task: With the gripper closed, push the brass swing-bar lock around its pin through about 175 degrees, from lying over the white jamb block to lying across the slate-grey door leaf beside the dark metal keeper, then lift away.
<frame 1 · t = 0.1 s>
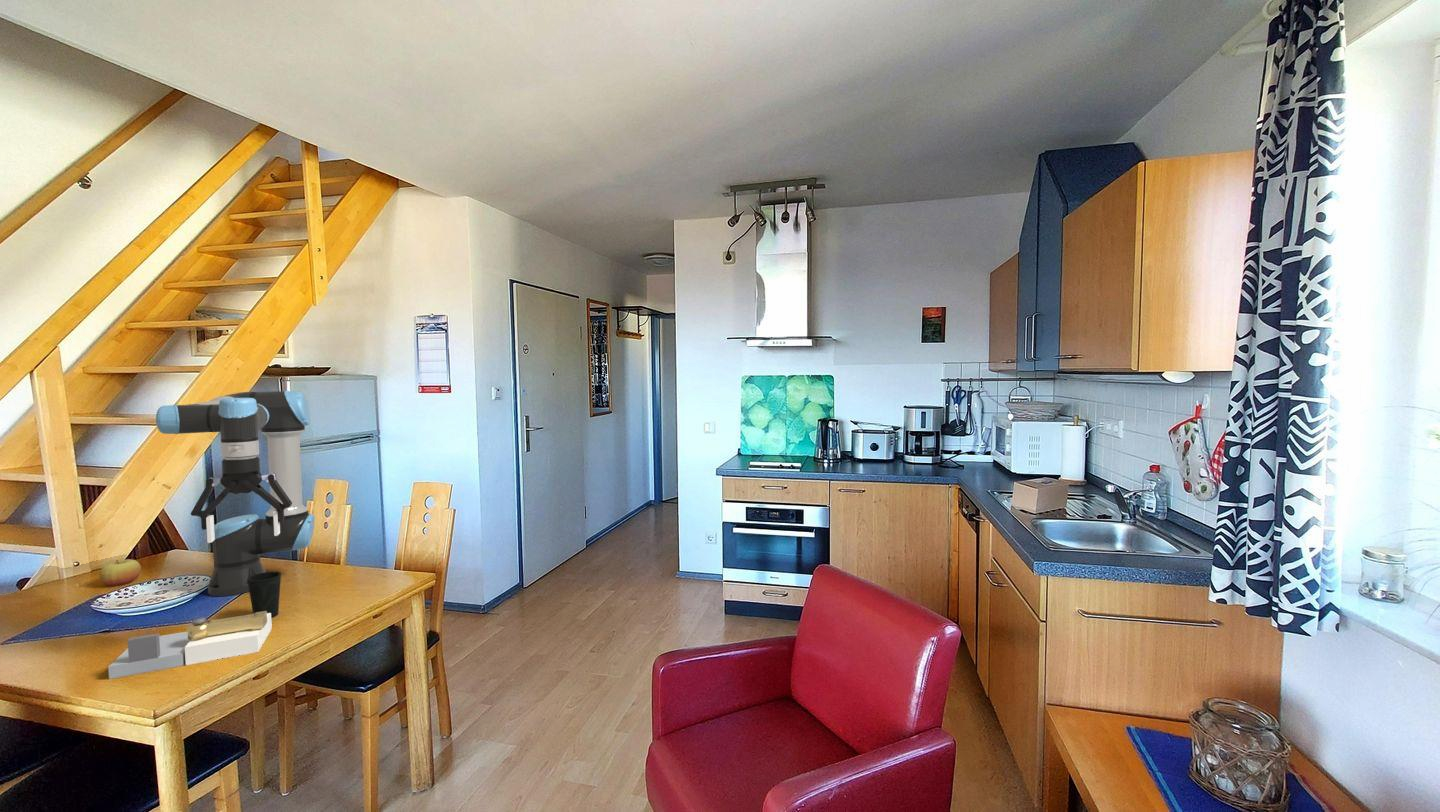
hand: (244, 538, 149), 28 cm above the table, fingers open, 13 cm apart
cup: (266, 616, 166), on the table
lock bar: (227, 625, 146), point 6 cm above the table, hinge at 0.0°
apple: (121, 583, 192), on the table
doorframe: (200, 654, 144), on the table
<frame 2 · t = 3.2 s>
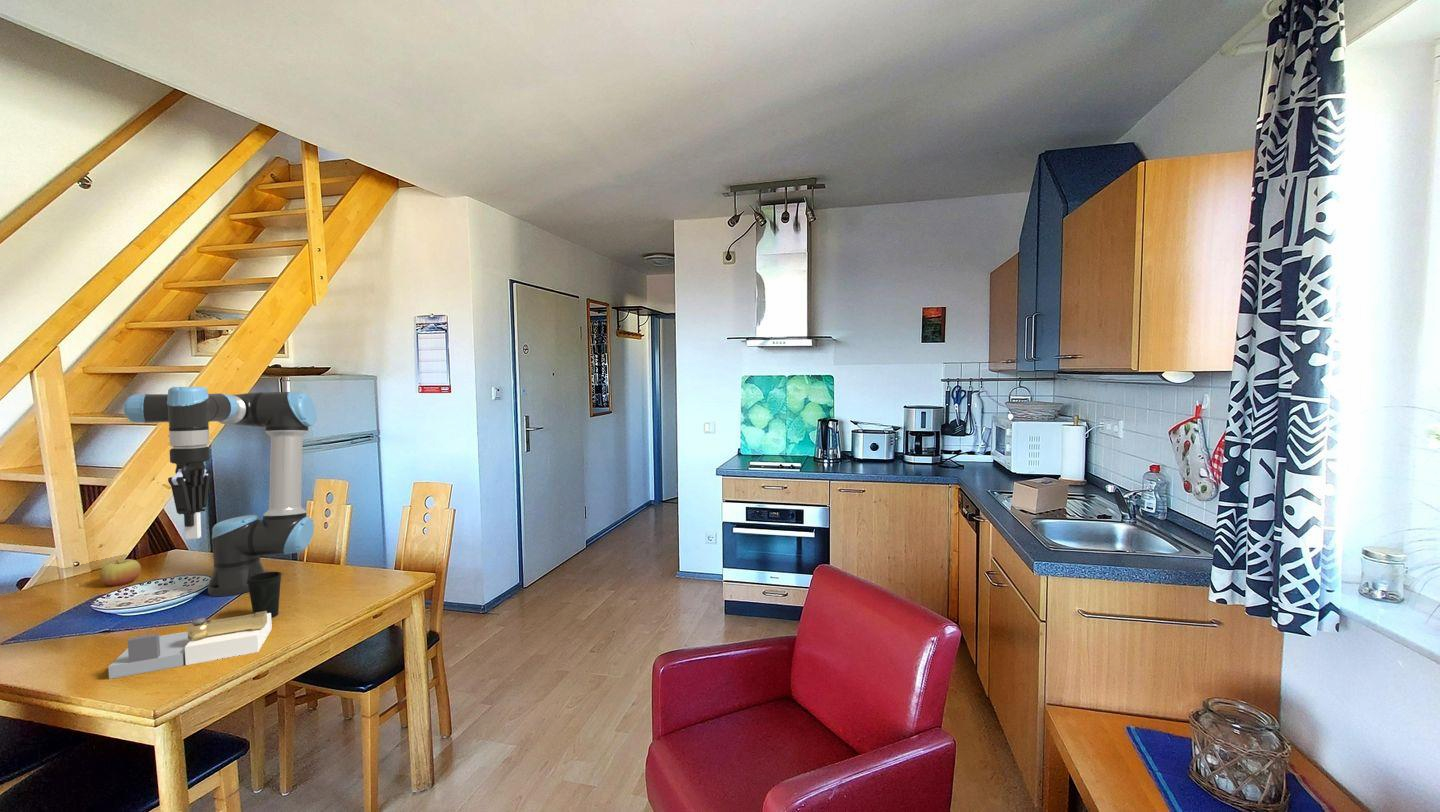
hand: (193, 538, 146), 29 cm above the table, fingers closed
nothing on the table moved.
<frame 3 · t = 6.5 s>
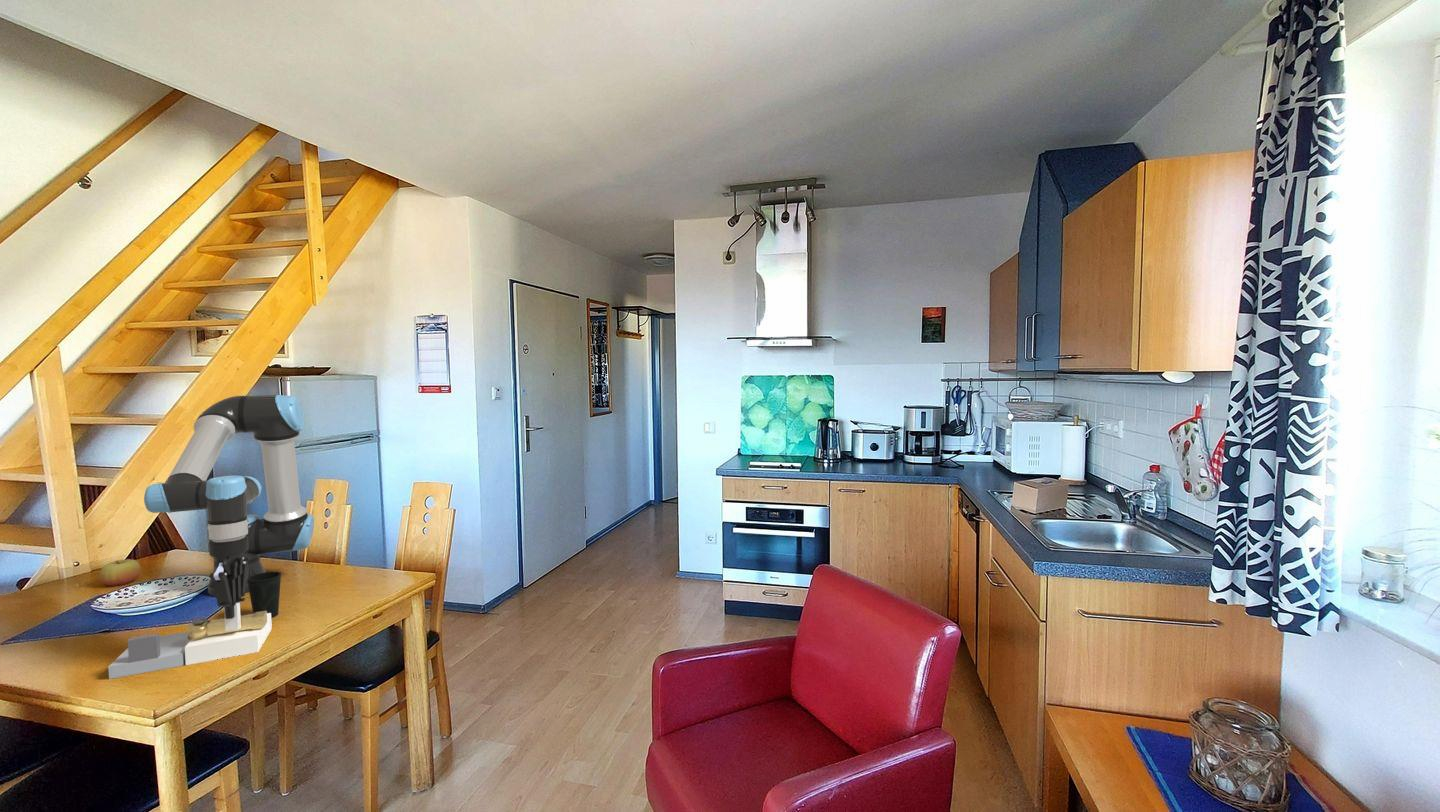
hand: (233, 629, 145), 6 cm above the table, fingers closed
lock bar: (227, 625, 146), point 6 cm above the table, hinge at 0.7°, touching gripper
everything else where it was.
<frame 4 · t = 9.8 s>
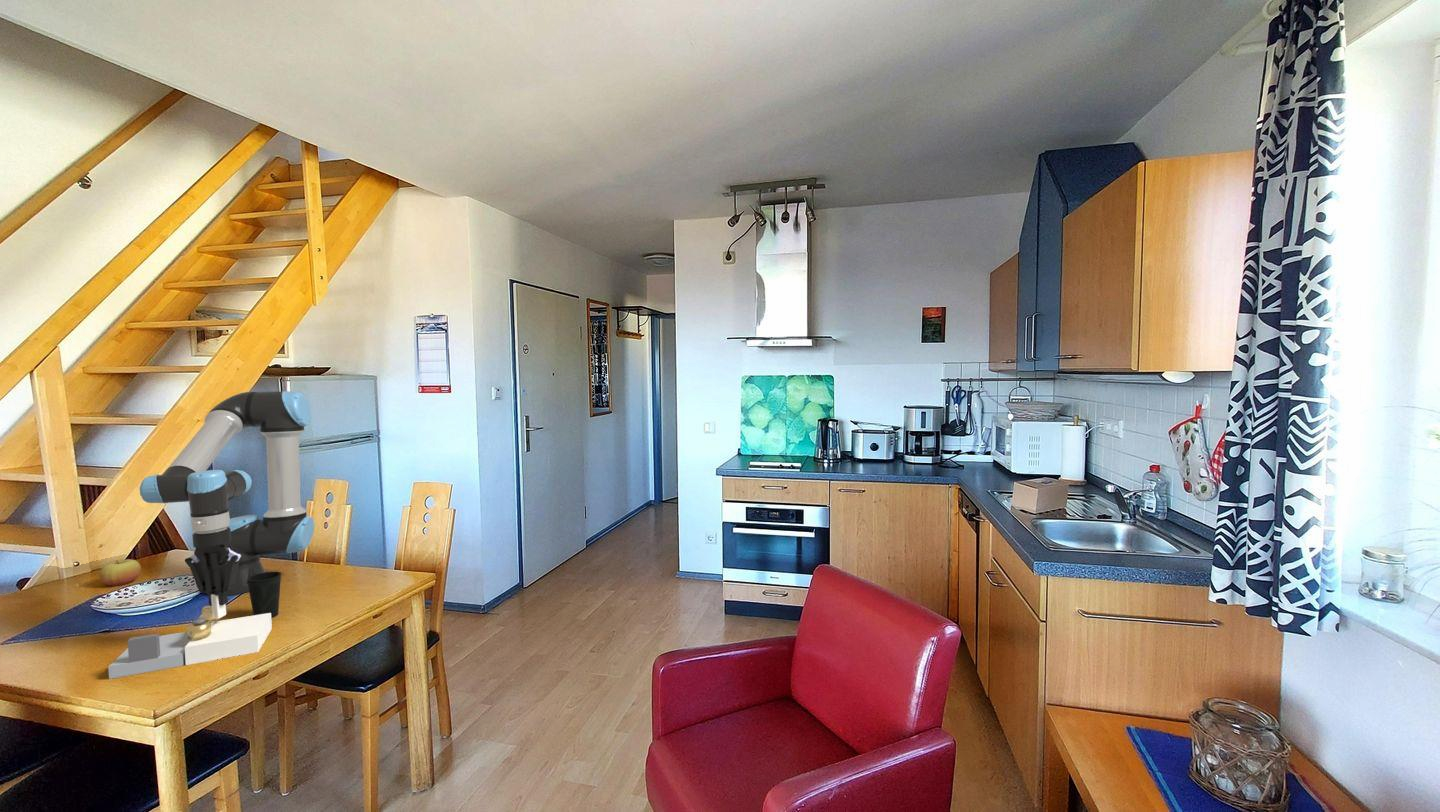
hand: (219, 616, 151), 6 cm above the table, fingers closed
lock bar: (205, 621, 148), point 6 cm above the table, hinge at 91.8°, touching gripper
everything else where it was.
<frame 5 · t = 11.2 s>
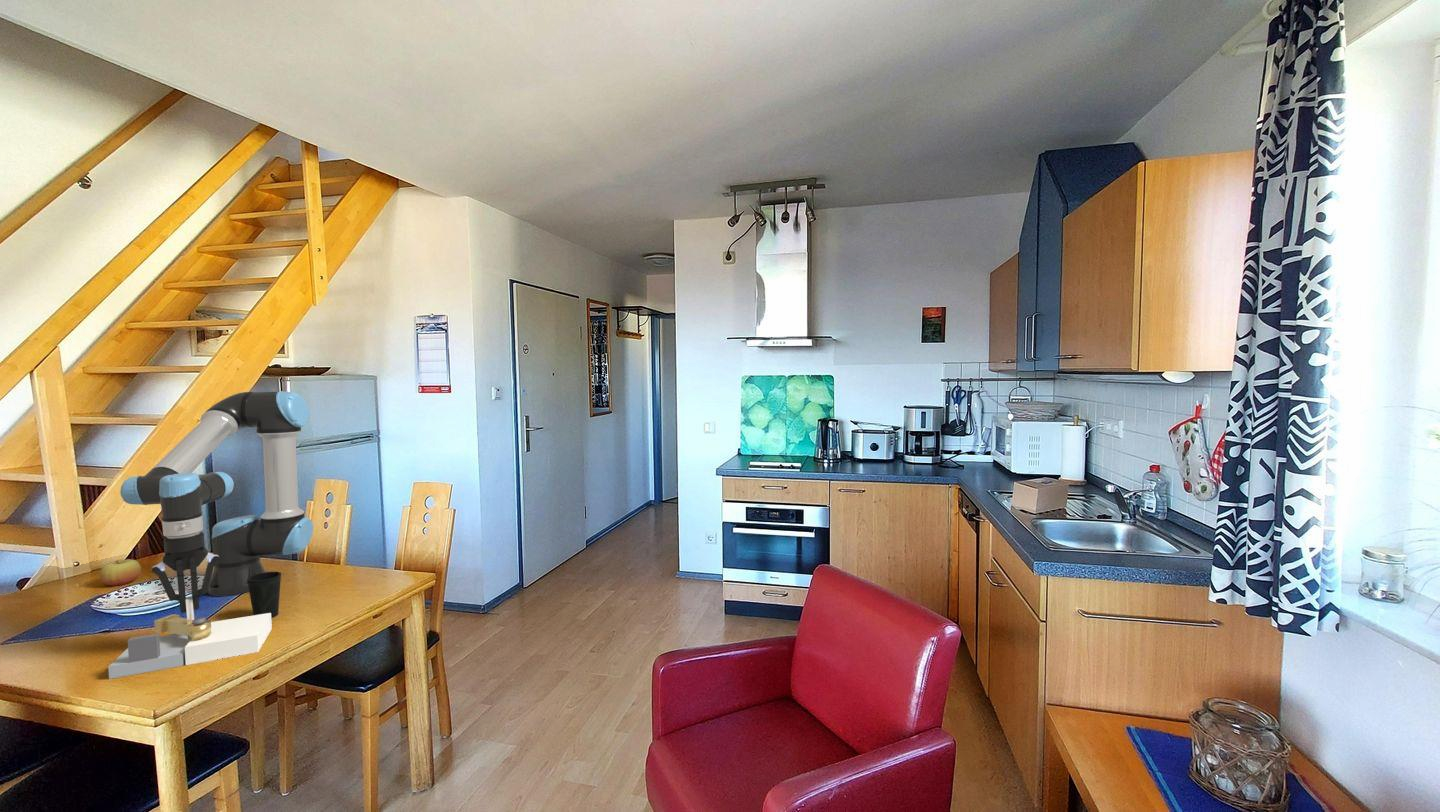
hand: (191, 622, 148), 6 cm above the table, fingers closed
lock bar: (184, 626, 145), point 6 cm above the table, hinge at 135.4°, touching gripper
everything else where it was.
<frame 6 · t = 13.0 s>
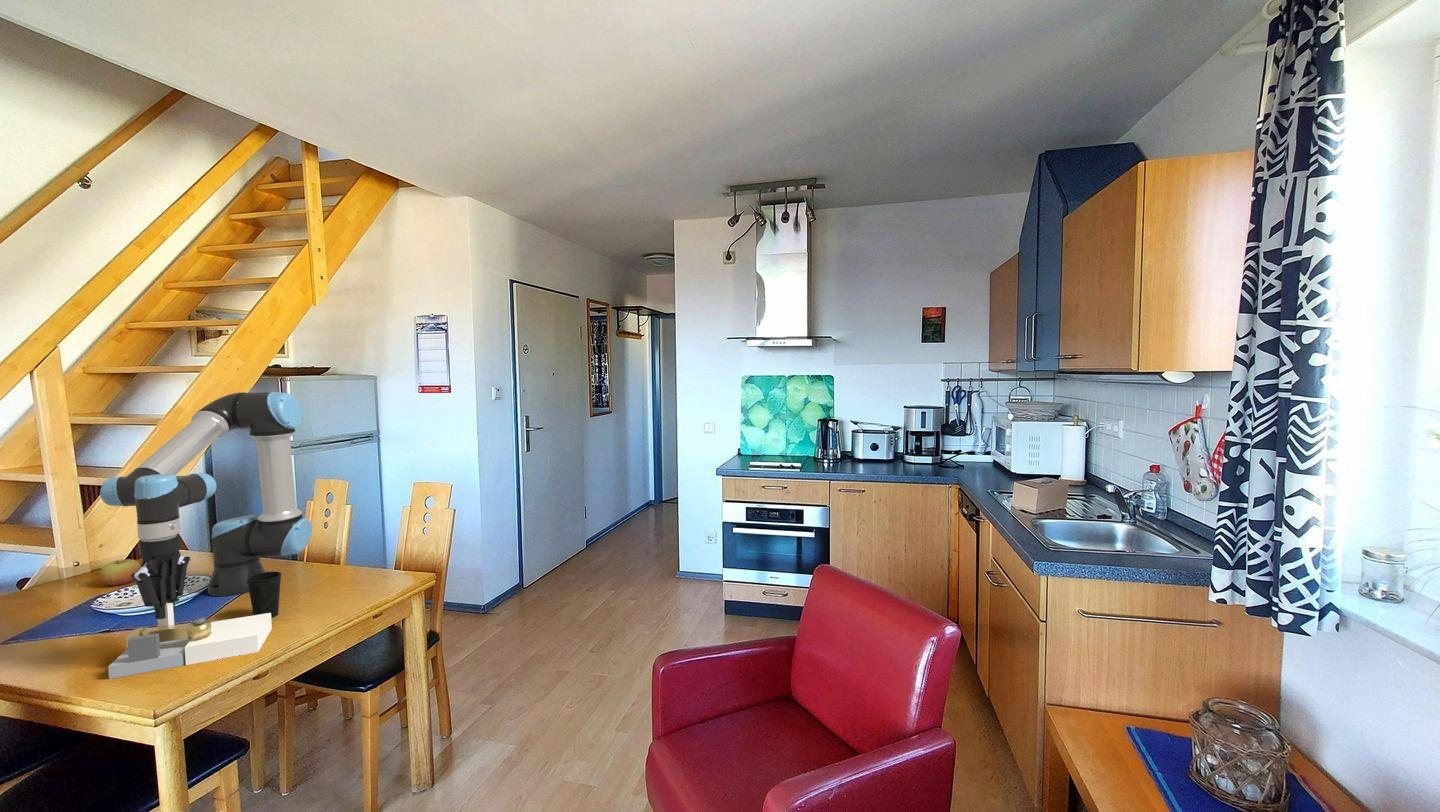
hand: (166, 629, 143), 7 cm above the table, fingers closed
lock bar: (171, 633, 141), point 6 cm above the table, hinge at 172.3°
everything else where it was.
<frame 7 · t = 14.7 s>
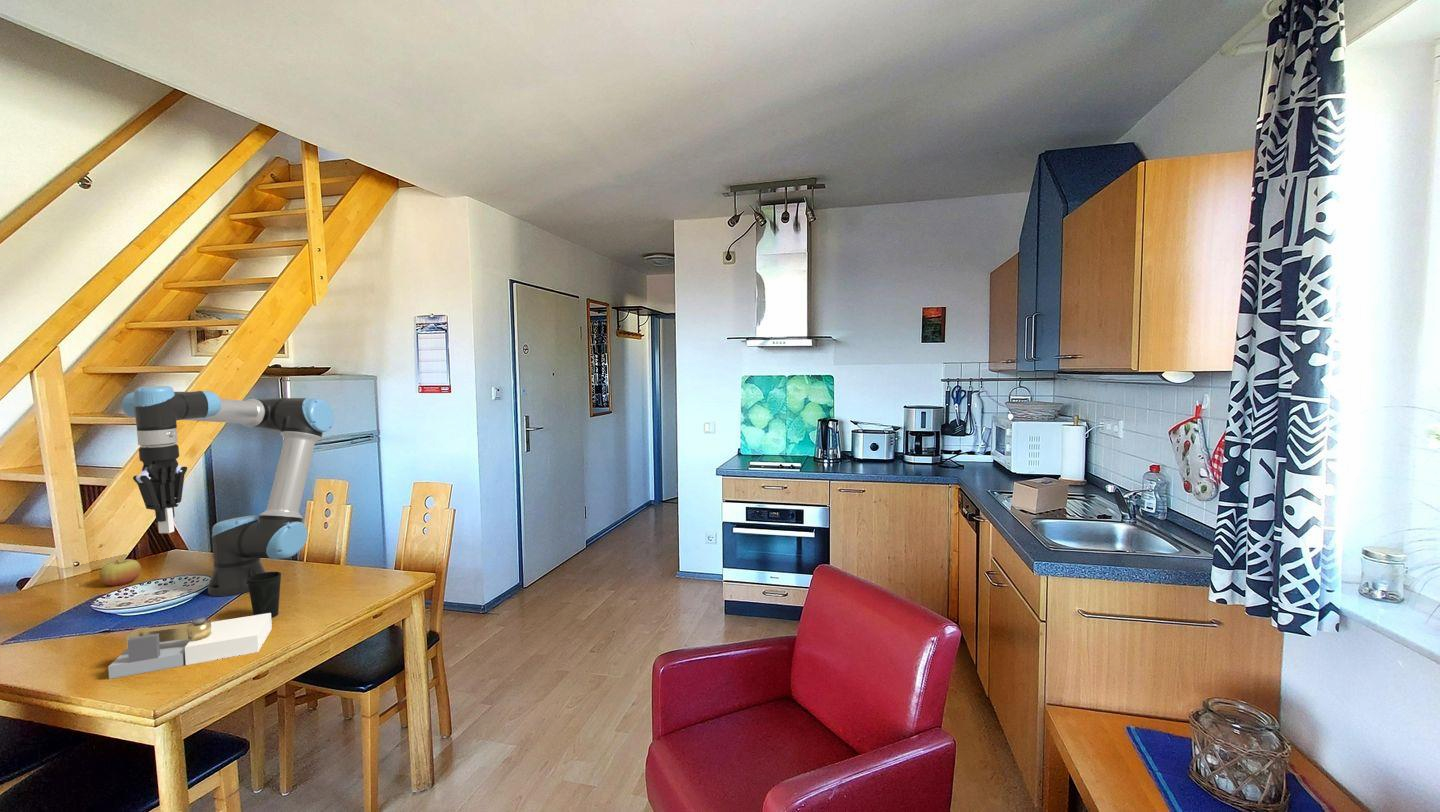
hand: (166, 532, 152), 28 cm above the table, fingers closed
nothing on the table moved.
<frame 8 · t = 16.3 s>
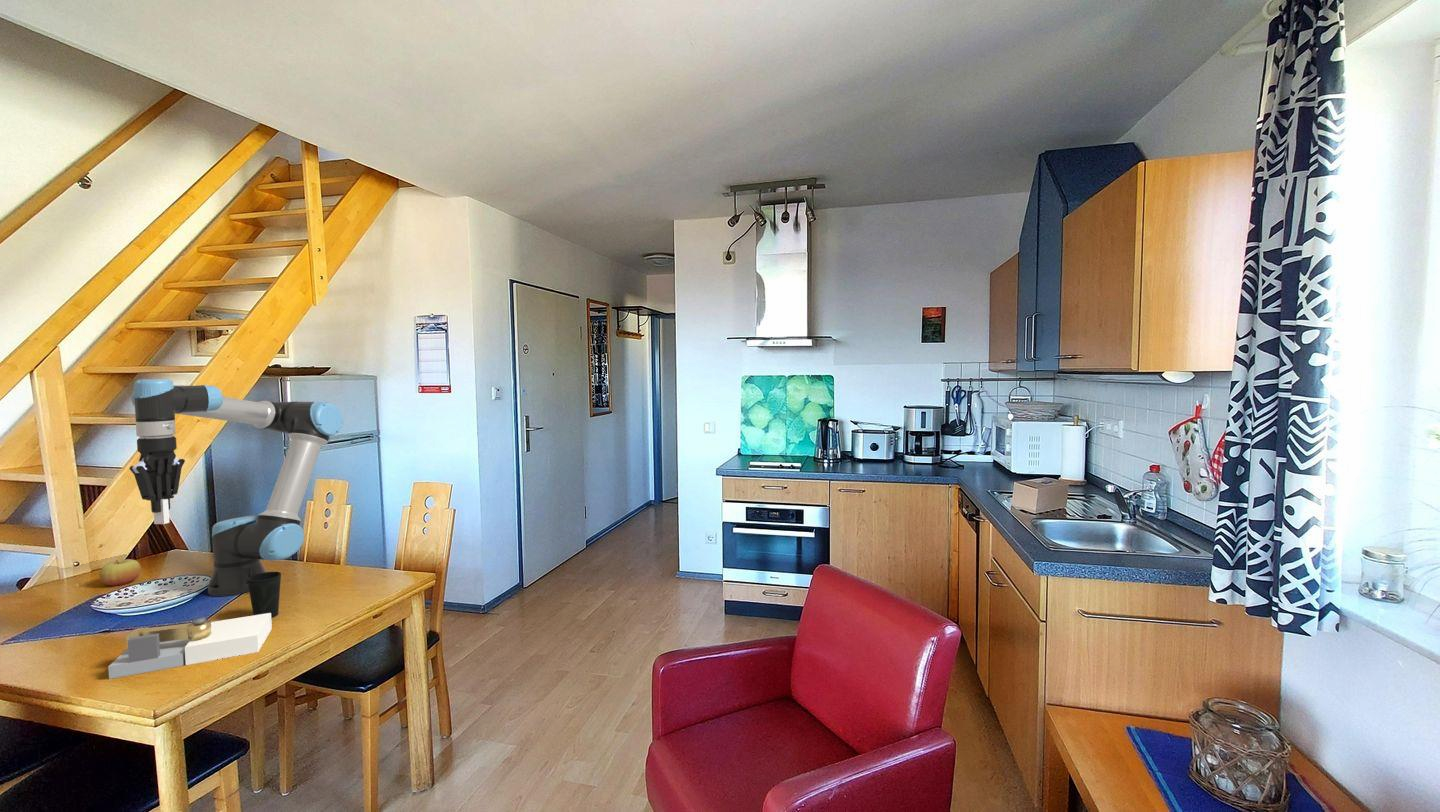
hand: (161, 523, 154), 30 cm above the table, fingers closed
nothing on the table moved.
at the end: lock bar at +172° (first picture: +0°) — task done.
